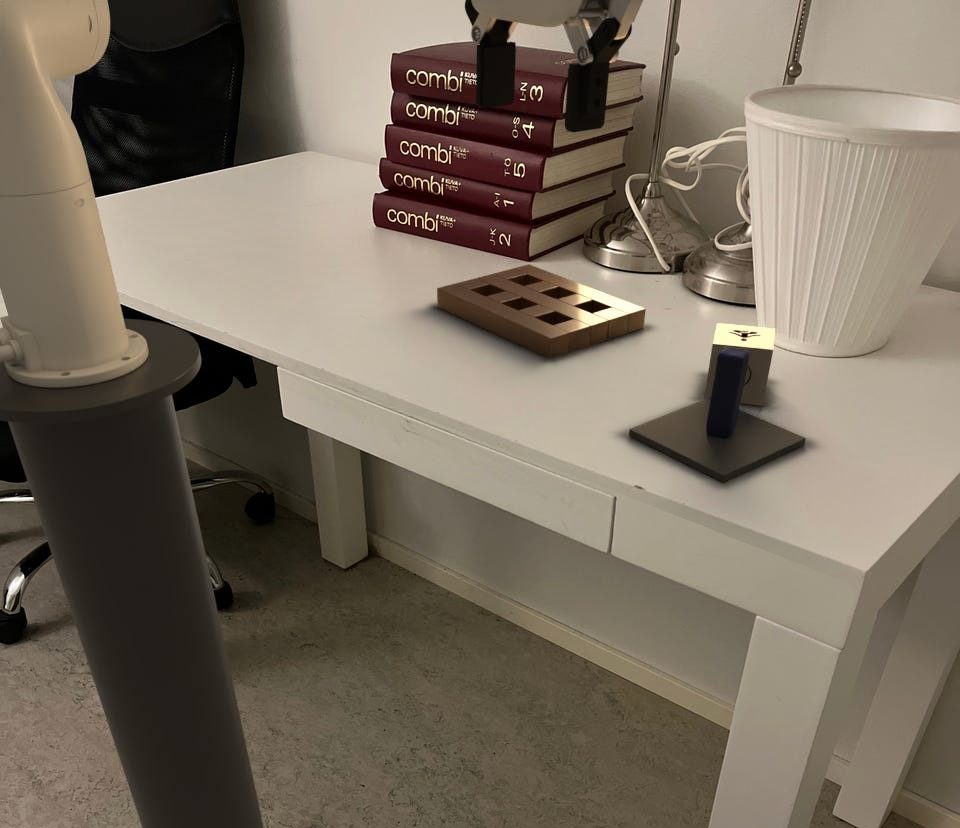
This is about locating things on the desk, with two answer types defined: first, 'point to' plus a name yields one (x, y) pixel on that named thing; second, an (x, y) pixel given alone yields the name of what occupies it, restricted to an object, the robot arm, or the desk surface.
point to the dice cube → (760, 356)
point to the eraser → (727, 391)
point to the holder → (541, 310)
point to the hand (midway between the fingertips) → (537, 117)
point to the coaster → (716, 441)
